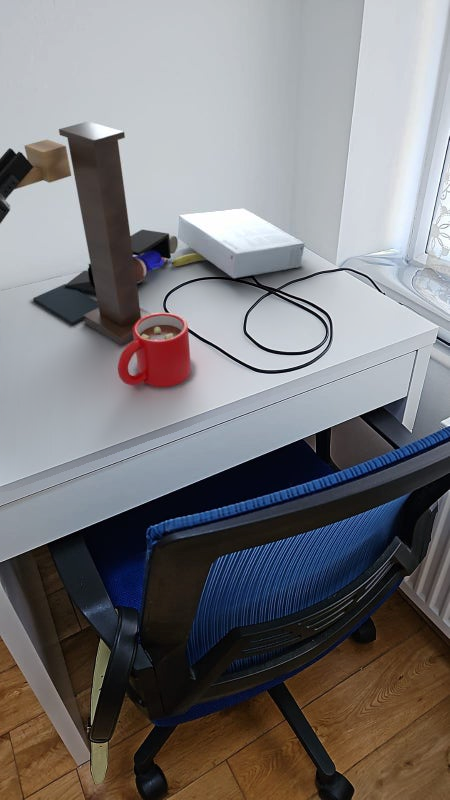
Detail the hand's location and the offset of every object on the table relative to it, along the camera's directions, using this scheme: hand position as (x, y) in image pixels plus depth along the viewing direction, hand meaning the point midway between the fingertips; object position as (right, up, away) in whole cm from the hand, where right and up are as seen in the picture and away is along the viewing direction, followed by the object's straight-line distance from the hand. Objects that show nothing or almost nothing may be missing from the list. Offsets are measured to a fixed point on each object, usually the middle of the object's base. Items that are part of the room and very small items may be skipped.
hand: (21, 157), depth 84 cm
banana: (+22, -6, +31) cm, 39 cm away
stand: (+12, -22, +14) cm, 29 cm away
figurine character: (+14, -11, +28) cm, 33 cm away
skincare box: (+39, -2, +34) cm, 52 cm away
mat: (+2, -18, +19) cm, 26 cm away
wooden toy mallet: (0, -3, +2) cm, 4 cm away
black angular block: (+7, -14, +24) cm, 28 cm away
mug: (+19, -32, +3) cm, 37 cm away
